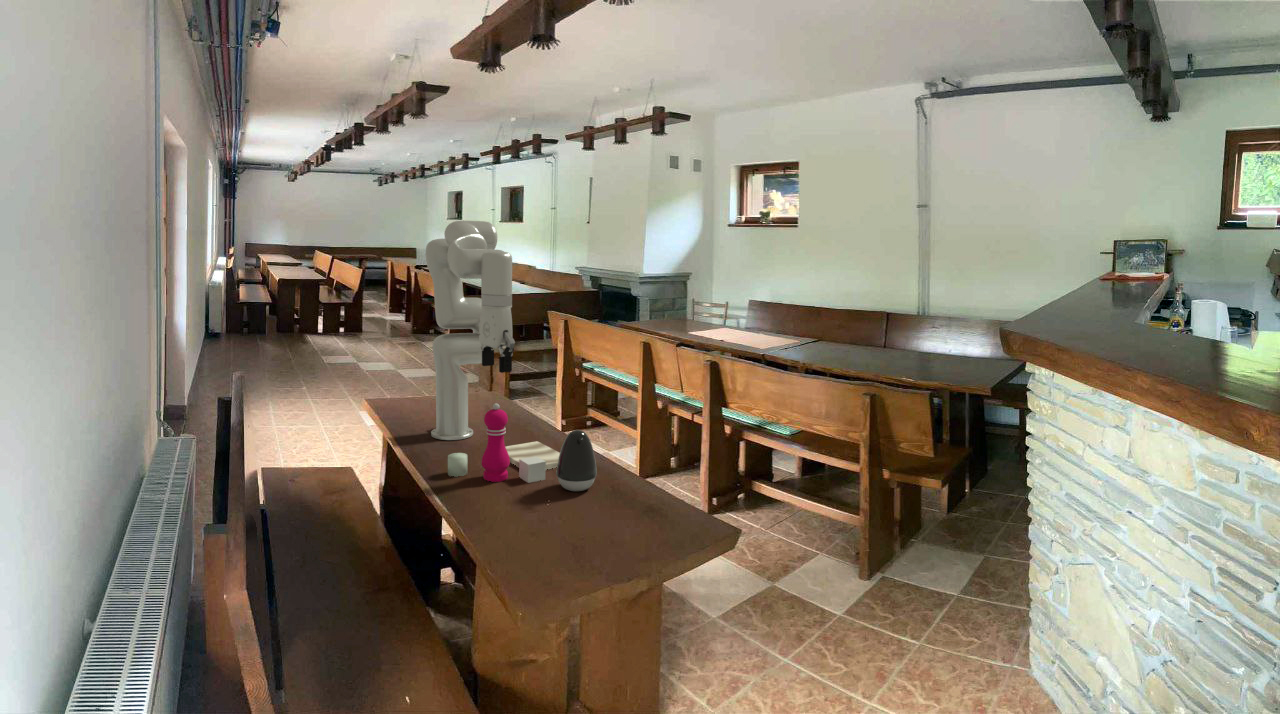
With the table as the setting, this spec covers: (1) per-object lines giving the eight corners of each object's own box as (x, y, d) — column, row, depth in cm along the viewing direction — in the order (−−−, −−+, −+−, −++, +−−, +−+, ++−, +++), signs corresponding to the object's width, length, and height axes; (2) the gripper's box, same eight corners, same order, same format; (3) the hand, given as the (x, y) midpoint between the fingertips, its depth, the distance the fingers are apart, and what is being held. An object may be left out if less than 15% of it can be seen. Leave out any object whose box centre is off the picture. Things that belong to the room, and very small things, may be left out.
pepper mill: (503, 484, 188) (504, 407, 185) (477, 481, 190) (477, 405, 186) (513, 475, 195) (514, 401, 192) (488, 472, 197) (488, 399, 193)
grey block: (519, 477, 194) (519, 459, 193) (535, 474, 197) (536, 456, 196) (528, 483, 190) (528, 464, 189) (545, 479, 193) (545, 461, 192)
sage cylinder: (444, 472, 195) (444, 454, 194) (462, 469, 198) (462, 451, 197) (452, 478, 191) (452, 459, 190) (470, 475, 194) (470, 456, 193)
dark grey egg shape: (559, 496, 181) (560, 436, 179) (553, 482, 191) (554, 425, 188) (600, 494, 184) (602, 435, 181) (591, 480, 194) (593, 424, 191)
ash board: (494, 453, 213) (494, 448, 212) (537, 446, 221) (537, 441, 221) (528, 473, 197) (528, 467, 197) (572, 464, 205) (573, 459, 205)
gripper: (468, 298, 189) (468, 364, 192) (498, 305, 175) (498, 376, 178) (494, 297, 193) (494, 362, 196) (526, 304, 180) (526, 373, 183)
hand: (496, 368), depth 187 cm, fingers open, 9 cm apart
